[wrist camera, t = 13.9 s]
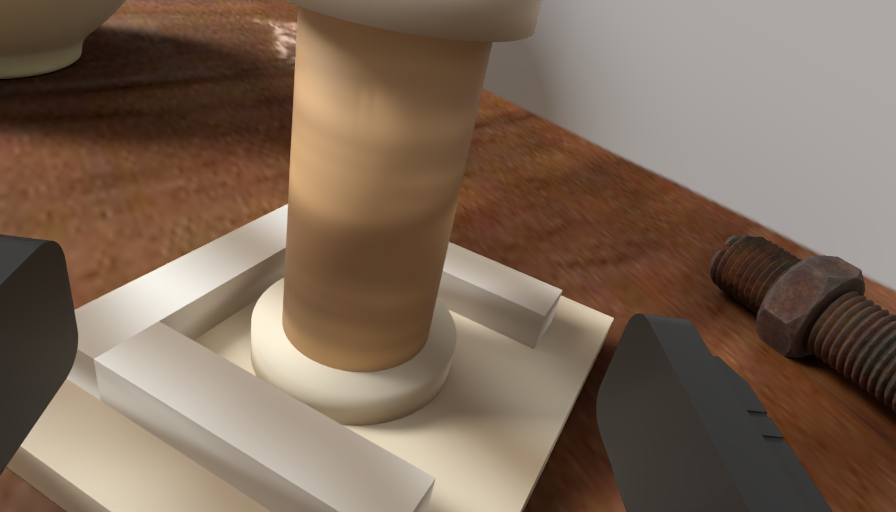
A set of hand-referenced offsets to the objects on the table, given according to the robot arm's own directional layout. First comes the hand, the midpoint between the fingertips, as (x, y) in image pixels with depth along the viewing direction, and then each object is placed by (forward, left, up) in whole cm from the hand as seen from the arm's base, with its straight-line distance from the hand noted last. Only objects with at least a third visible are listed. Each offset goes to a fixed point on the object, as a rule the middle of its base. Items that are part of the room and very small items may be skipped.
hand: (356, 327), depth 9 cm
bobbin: (+7, +4, -8) cm, 11 cm away
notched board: (+7, +4, -9) cm, 12 cm away
